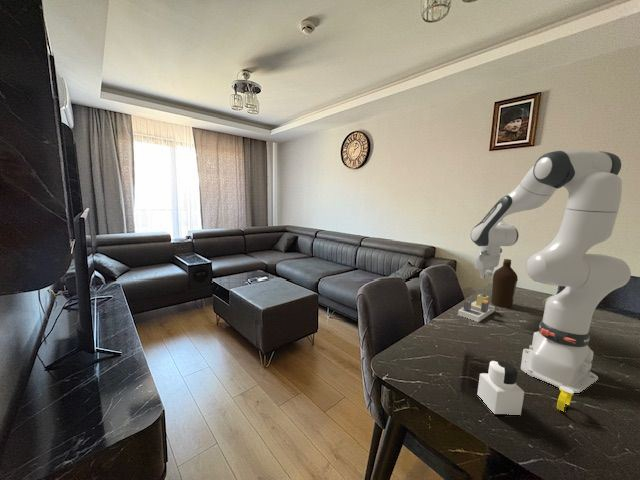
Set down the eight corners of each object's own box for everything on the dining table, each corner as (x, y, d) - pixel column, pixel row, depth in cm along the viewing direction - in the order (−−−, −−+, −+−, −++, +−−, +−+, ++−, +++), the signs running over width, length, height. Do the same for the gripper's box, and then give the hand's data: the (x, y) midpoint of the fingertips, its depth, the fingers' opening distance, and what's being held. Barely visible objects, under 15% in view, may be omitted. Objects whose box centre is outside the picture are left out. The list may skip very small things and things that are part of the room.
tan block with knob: (484, 307, 126) (486, 296, 125) (475, 304, 129) (477, 294, 128) (487, 305, 129) (489, 295, 128) (479, 303, 132) (480, 292, 131)
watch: (559, 402, 70) (563, 382, 70) (572, 409, 68) (577, 388, 67) (551, 409, 67) (556, 389, 66) (565, 417, 65) (570, 396, 64)
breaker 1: (467, 310, 121) (468, 302, 120) (463, 309, 123) (464, 301, 122) (470, 309, 123) (471, 301, 122) (466, 307, 125) (467, 300, 124)
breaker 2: (485, 312, 120) (486, 302, 119) (480, 310, 122) (482, 301, 121) (487, 310, 122) (489, 301, 121) (483, 309, 124) (484, 299, 123)
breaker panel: (478, 322, 116) (478, 316, 116) (457, 315, 123) (458, 309, 123) (494, 311, 128) (494, 306, 128) (474, 305, 135) (475, 300, 135)
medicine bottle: (500, 395, 72) (506, 356, 70) (521, 416, 65) (528, 374, 63) (476, 395, 72) (481, 356, 70) (494, 416, 65) (500, 374, 63)
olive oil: (492, 306, 135) (498, 260, 131) (487, 299, 145) (493, 256, 141) (516, 309, 131) (523, 262, 127) (510, 302, 140) (516, 258, 137)
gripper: (488, 252, 116) (484, 282, 117) (503, 249, 128) (500, 275, 130) (473, 250, 121) (470, 278, 122) (489, 247, 133) (486, 272, 135)
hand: (485, 277), depth 126 cm, fingers open, 8 cm apart
